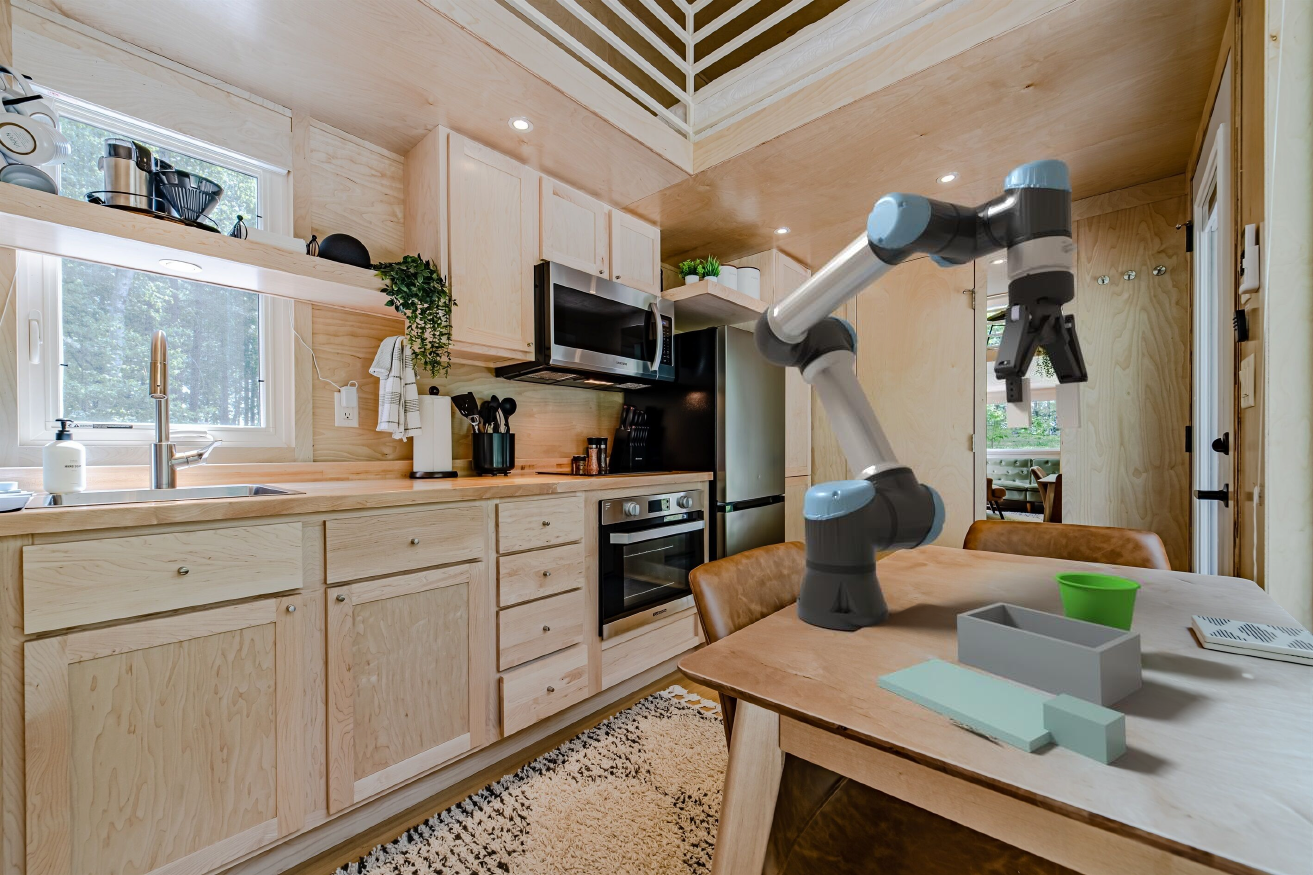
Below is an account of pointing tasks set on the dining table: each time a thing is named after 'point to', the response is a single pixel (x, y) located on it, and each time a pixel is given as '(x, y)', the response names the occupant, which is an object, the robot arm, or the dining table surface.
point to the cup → (1098, 598)
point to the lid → (1012, 710)
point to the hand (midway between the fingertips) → (1045, 428)
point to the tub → (1051, 652)
